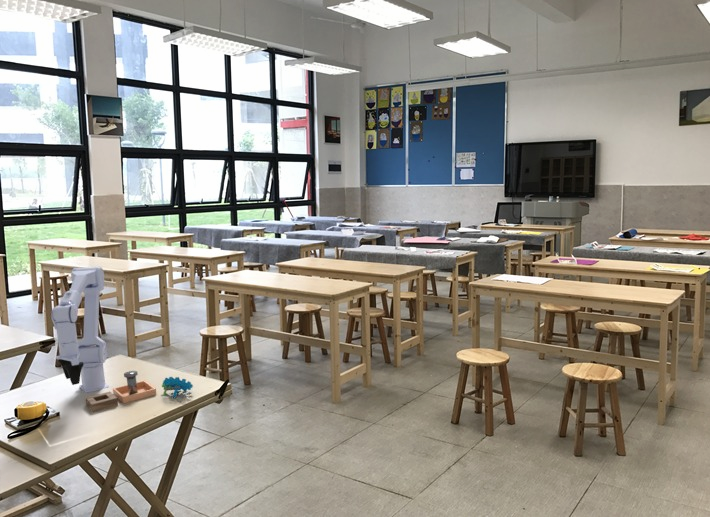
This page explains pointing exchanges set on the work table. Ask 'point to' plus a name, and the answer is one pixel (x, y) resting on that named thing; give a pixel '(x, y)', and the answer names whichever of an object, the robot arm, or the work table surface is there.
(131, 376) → the pin
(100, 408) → the pin block
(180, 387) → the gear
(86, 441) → the work table surface
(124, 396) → the tray
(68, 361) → the robot arm
